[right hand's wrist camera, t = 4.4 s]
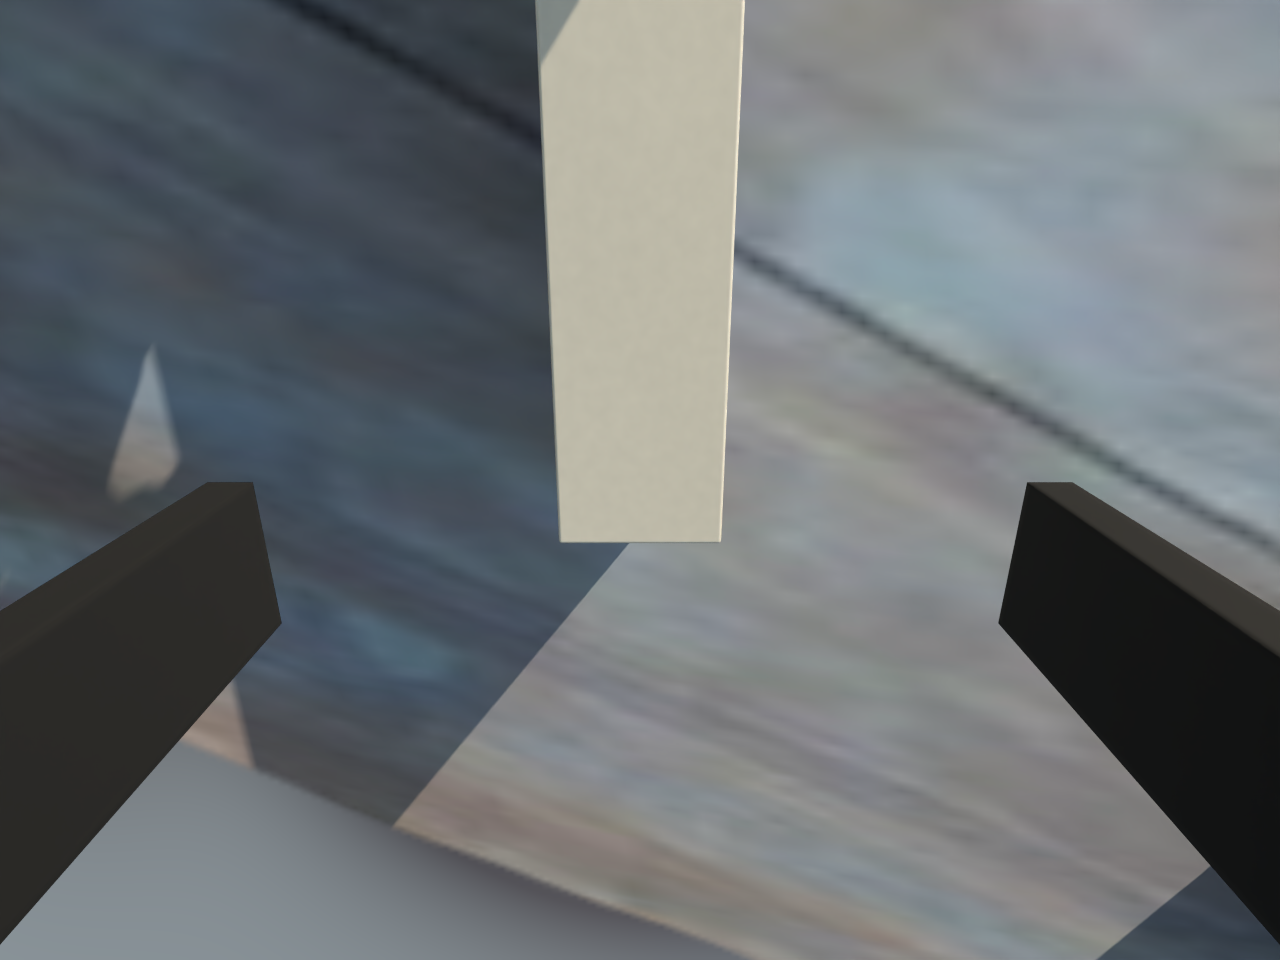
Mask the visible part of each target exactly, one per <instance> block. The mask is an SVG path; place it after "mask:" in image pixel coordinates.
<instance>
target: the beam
mask: <svg viewBox="0 0 1280 960" xmlns="http://www.w3.org/2000/svg"><path fill="white" fill-rule="evenodd" d="M744 7H745V0H535V8H536V30H537V53H538V75H539V98H540V121H541V143H542V166H543V189H544V211H545V234H546V256H547V279H548V302H549V324H550V347H551V369H552V392H553V415H554V437H555V460H556V483H557V505H558V528H559V541H560V542H561V543H719V542H720V541H721V527H722V505H723V482H724V460H725V437H726V414H727V392H728V369H729V347H730V324H731V301H732V279H733V256H734V233H735V211H736V188H737V166H738V143H739V120H740V98H741V75H742V52H743V30H744Z"/></svg>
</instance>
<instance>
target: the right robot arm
mask: <svg viewBox="0 0 1280 960" xmlns="http://www.w3.org/2000/svg"><path fill="white" fill-rule="evenodd" d="M280 624H281V618H280V613H279V608H278V603H277V598H276V593H275V588H274V584H273V579H272V574H271V569H270V564H269V559H268V554H267V549H266V545H265V540H264V535H263V530H262V525H261V520H260V515H259V510H258V506H257V501H256V496H255V491H254V486H253V482H207V483H206V484H204V485H203V486H201V487H199V488H198V489H196V490H195V491H193V492H191V493H190V494H188V495H186V496H185V497H183V498H182V499H180V500H178V501H177V502H175V503H174V504H172V505H170V506H169V507H167V508H166V509H164V510H162V511H161V512H159V513H157V514H156V515H154V516H153V517H151V518H149V519H148V520H146V521H145V522H143V523H141V524H140V525H138V526H137V527H135V528H133V529H132V530H130V531H128V532H127V533H125V534H124V535H122V536H120V537H119V538H117V539H116V540H114V541H112V542H111V543H109V544H108V545H106V546H104V547H103V548H101V549H99V550H98V551H96V552H95V553H93V554H91V555H90V556H88V557H87V558H85V559H83V560H82V561H80V562H79V563H77V564H75V565H74V566H72V567H70V568H69V569H67V570H66V571H64V572H62V573H61V574H59V575H58V576H56V577H54V578H53V579H51V580H49V581H48V582H46V583H45V584H43V585H41V586H40V587H38V588H37V589H35V590H33V591H32V592H30V593H29V594H27V595H25V596H24V597H22V598H20V599H19V600H17V601H16V602H14V603H12V604H11V605H9V606H8V607H6V608H4V609H3V610H1V611H0V944H1V943H2V942H3V941H4V940H5V938H6V937H7V936H8V935H9V934H10V933H11V932H12V930H13V929H14V928H15V927H16V926H17V925H18V924H19V922H20V921H21V920H22V919H23V918H24V917H25V916H26V914H27V913H28V912H29V911H30V910H31V909H32V908H33V906H34V905H35V904H36V903H37V902H38V901H39V900H40V898H41V897H42V896H43V895H44V894H45V893H46V892H47V890H48V889H49V888H50V887H51V886H52V885H53V884H54V882H55V881H56V880H57V879H58V878H59V877H60V876H61V875H62V873H63V872H64V871H65V870H66V869H67V868H68V867H69V865H70V864H71V863H72V862H73V861H74V860H75V859H76V857H77V856H78V855H79V854H80V853H81V852H82V851H83V849H84V848H85V847H86V846H87V845H88V844H89V843H90V841H91V840H92V839H93V838H94V837H95V836H96V835H97V833H98V832H99V831H100V830H101V829H102V828H103V827H104V825H105V824H106V823H107V822H108V821H109V820H110V818H111V817H112V816H113V815H114V814H115V813H116V812H117V811H118V809H119V808H120V807H121V806H122V805H123V804H124V803H125V801H126V800H127V799H128V798H129V797H130V796H131V795H132V793H133V792H134V791H135V790H136V789H137V788H138V787H139V785H140V784H141V783H142V782H143V781H144V780H145V779H146V777H147V776H148V775H149V774H150V773H151V772H152V771H153V769H154V768H155V767H156V766H157V765H158V764H159V763H160V761H161V760H162V759H163V758H164V757H165V756H166V755H167V753H168V752H169V751H170V750H171V749H172V748H173V747H174V745H175V744H176V743H177V742H178V741H179V740H180V739H181V738H182V736H183V735H184V734H185V733H186V732H187V731H188V730H189V728H190V727H191V726H192V725H193V724H194V723H195V722H196V720H197V719H198V718H199V717H200V716H201V715H202V714H203V712H204V711H205V710H206V709H207V708H208V707H209V706H210V704H211V703H212V702H213V701H214V700H215V699H216V698H217V696H218V695H219V694H220V693H221V692H222V691H223V690H224V688H225V687H226V686H227V685H228V684H229V683H230V682H231V680H232V679H233V678H234V677H235V676H236V675H237V674H238V672H239V671H240V670H241V669H242V668H243V667H244V666H245V664H246V663H247V662H248V661H249V660H250V659H251V658H252V656H253V655H254V654H255V653H256V652H257V651H258V650H259V648H260V647H261V646H262V645H263V644H264V643H265V642H266V640H267V639H268V638H269V637H270V636H271V635H272V634H273V632H274V631H275V630H276V629H277V628H278V627H279V626H280ZM999 624H1000V626H1001V627H1002V628H1003V629H1004V630H1005V631H1006V632H1007V634H1008V635H1009V636H1010V637H1011V638H1012V639H1013V640H1014V642H1015V643H1016V644H1017V645H1018V646H1019V647H1020V648H1021V650H1022V651H1023V652H1024V653H1025V654H1026V655H1027V656H1028V658H1029V659H1030V660H1031V661H1032V662H1033V663H1034V664H1035V666H1036V667H1037V668H1038V669H1039V670H1040V671H1041V672H1042V674H1043V675H1044V676H1045V677H1046V678H1047V679H1048V680H1049V682H1050V683H1051V684H1052V685H1053V686H1054V687H1055V688H1056V690H1057V691H1058V692H1059V693H1060V694H1061V695H1062V696H1063V698H1064V699H1065V700H1066V701H1067V702H1068V703H1069V704H1070V706H1071V707H1072V708H1073V709H1074V710H1075V711H1076V712H1077V714H1078V715H1079V716H1080V717H1081V718H1082V719H1083V720H1084V722H1085V723H1086V724H1087V725H1088V726H1089V727H1090V728H1091V730H1092V731H1093V732H1094V733H1095V734H1096V735H1097V736H1098V738H1099V739H1100V740H1101V741H1102V742H1103V743H1104V744H1105V746H1106V747H1107V748H1108V749H1109V750H1110V751H1111V752H1112V753H1113V755H1114V756H1115V757H1116V758H1117V759H1118V760H1119V761H1120V763H1121V764H1122V765H1123V766H1124V767H1125V768H1126V769H1127V771H1128V772H1129V773H1130V774H1131V775H1132V776H1133V777H1134V779H1135V780H1136V781H1137V782H1138V783H1139V784H1140V785H1141V787H1142V788H1143V789H1144V790H1145V791H1146V792H1147V793H1148V795H1149V796H1150V797H1151V798H1152V799H1153V800H1154V801H1155V803H1156V804H1157V805H1158V806H1159V807H1160V808H1161V809H1162V811H1163V812H1164V813H1165V814H1166V815H1167V816H1168V817H1169V819H1170V820H1171V821H1172V822H1173V823H1174V824H1175V825H1176V827H1177V828H1178V829H1179V830H1180V831H1181V832H1182V833H1183V835H1184V836H1185V837H1186V838H1187V839H1188V840H1189V841H1190V843H1191V844H1192V845H1193V846H1194V847H1195V848H1196V849H1197V851H1198V852H1199V853H1200V854H1201V855H1202V856H1203V857H1204V859H1205V860H1206V861H1207V862H1208V863H1209V864H1210V865H1211V867H1212V868H1213V869H1214V870H1215V871H1216V872H1217V873H1218V875H1219V876H1220V877H1221V878H1222V879H1223V880H1224V881H1225V883H1226V884H1227V885H1228V886H1229V887H1230V888H1231V889H1232V890H1233V892H1234V893H1235V894H1236V895H1237V896H1238V897H1239V898H1240V900H1241V901H1242V902H1243V903H1244V904H1245V905H1246V906H1247V908H1248V909H1249V910H1250V911H1251V912H1252V913H1253V914H1254V916H1255V917H1256V918H1257V919H1258V920H1259V921H1260V922H1261V924H1262V925H1263V926H1264V927H1265V928H1266V929H1267V930H1268V932H1269V933H1270V934H1271V935H1272V936H1273V937H1274V938H1275V940H1276V941H1277V942H1278V943H1279V944H1280V611H1279V610H1277V609H1276V608H1274V607H1272V606H1271V605H1269V604H1268V603H1266V602H1264V601H1263V600H1261V599H1260V598H1258V597H1256V596H1255V595H1253V594H1251V593H1250V592H1248V591H1247V590H1245V589H1243V588H1242V587H1240V586H1239V585H1237V584H1235V583H1234V582H1232V581H1231V580H1229V579H1227V578H1226V577H1224V576H1222V575H1221V574H1219V573H1218V572H1216V571H1214V570H1213V569H1211V568H1210V567H1208V566H1206V565H1205V564H1203V563H1201V562H1200V561H1198V560H1197V559H1195V558H1193V557H1192V556H1190V555H1189V554H1187V553H1185V552H1184V551H1182V550H1181V549H1179V548H1177V547H1176V546H1174V545H1172V544H1171V543H1169V542H1168V541H1166V540H1164V539H1163V538H1161V537H1160V536H1158V535H1156V534H1155V533H1153V532H1152V531H1150V530H1148V529H1147V528H1145V527H1143V526H1142V525H1140V524H1139V523H1137V522H1135V521H1134V520H1132V519H1131V518H1129V517H1127V516H1126V515H1124V514H1123V513H1121V512H1119V511H1118V510H1116V509H1114V508H1113V507H1111V506H1110V505H1108V504H1106V503H1105V502H1103V501H1102V500H1100V499H1098V498H1097V497H1095V496H1094V495H1092V494H1090V493H1089V492H1087V491H1085V490H1084V489H1082V488H1081V487H1079V486H1077V485H1076V484H1074V483H1073V482H1027V486H1026V491H1025V496H1024V501H1023V506H1022V510H1021V515H1020V520H1019V525H1018V530H1017V535H1016V540H1015V545H1014V549H1013V554H1012V559H1011V564H1010V569H1009V574H1008V579H1007V584H1006V588H1005V593H1004V598H1003V603H1002V608H1001V613H1000V618H999Z"/></svg>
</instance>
